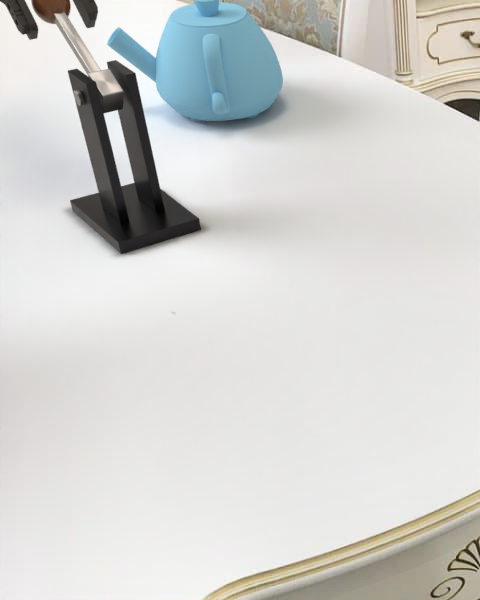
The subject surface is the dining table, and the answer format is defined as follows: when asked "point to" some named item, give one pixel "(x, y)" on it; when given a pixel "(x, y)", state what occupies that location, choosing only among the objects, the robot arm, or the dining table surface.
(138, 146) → the bracket
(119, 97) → the lever
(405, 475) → the dining table surface
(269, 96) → the teapot
